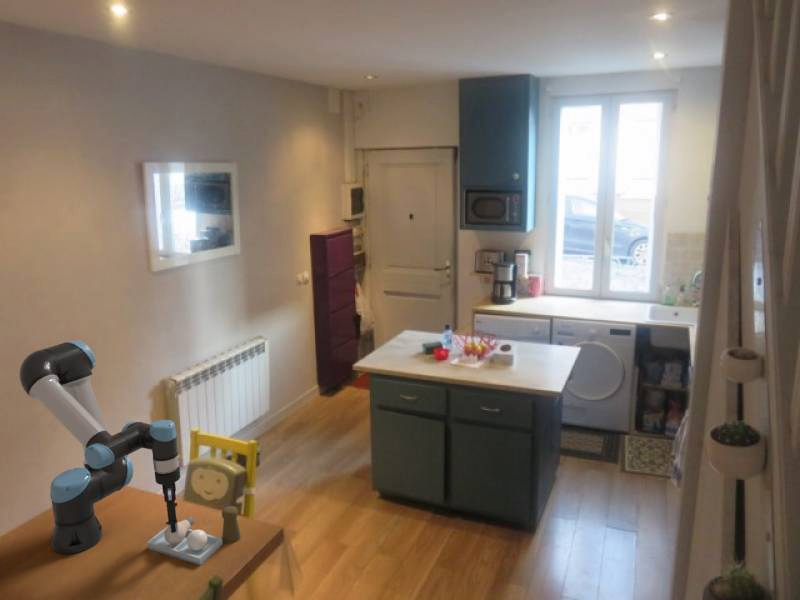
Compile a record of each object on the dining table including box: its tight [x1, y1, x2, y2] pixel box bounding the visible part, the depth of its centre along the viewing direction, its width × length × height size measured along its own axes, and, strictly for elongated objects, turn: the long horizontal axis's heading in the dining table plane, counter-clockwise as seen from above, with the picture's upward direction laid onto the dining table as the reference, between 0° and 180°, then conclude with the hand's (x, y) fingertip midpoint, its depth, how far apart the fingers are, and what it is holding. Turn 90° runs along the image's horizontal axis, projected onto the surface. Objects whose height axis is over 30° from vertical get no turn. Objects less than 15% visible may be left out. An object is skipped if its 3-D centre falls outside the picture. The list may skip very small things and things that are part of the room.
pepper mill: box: [221, 505, 242, 544], centre depth 207 cm, size 6×6×11 cm
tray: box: [146, 525, 224, 566], centre depth 203 cm, size 21×11×2 cm, turn 68°
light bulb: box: [164, 516, 195, 544], centre depth 204 cm, size 7×7×11 cm
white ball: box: [187, 529, 207, 551], centre depth 200 cm, size 6×6×6 cm
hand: (173, 533), depth 202 cm, fingers open, 8 cm apart
